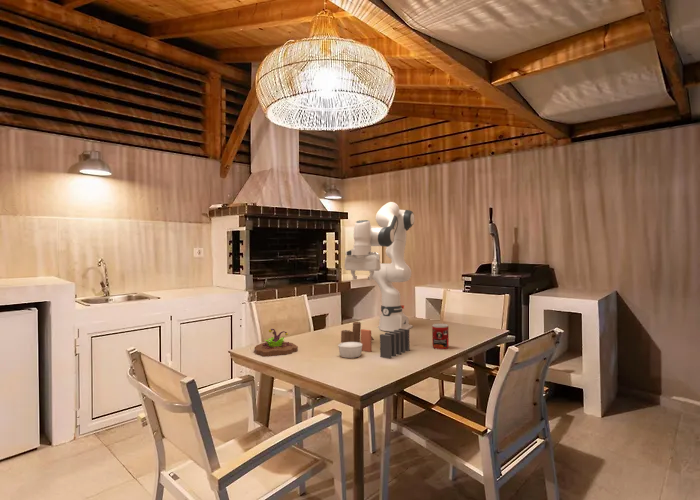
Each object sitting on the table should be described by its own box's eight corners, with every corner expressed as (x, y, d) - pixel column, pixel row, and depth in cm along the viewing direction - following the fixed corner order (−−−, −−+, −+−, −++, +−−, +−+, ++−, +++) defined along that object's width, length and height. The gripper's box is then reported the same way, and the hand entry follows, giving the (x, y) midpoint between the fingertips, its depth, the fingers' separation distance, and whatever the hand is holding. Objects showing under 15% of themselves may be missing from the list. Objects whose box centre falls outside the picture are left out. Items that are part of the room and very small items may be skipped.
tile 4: (387, 354, 190) (386, 332, 190) (396, 355, 186) (396, 333, 186) (385, 355, 188) (384, 333, 188) (394, 356, 185) (394, 334, 185)
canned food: (431, 348, 199) (431, 326, 199) (433, 345, 206) (433, 323, 206) (447, 349, 196) (447, 326, 196) (449, 346, 203) (449, 323, 203)
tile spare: (363, 349, 199) (362, 329, 199) (371, 351, 195) (371, 330, 195) (361, 350, 197) (360, 329, 197) (369, 352, 194) (369, 330, 194)
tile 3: (391, 352, 193) (391, 331, 193) (400, 354, 190) (400, 332, 190) (389, 353, 191) (389, 331, 191) (399, 354, 188) (398, 332, 188)
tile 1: (400, 349, 199) (400, 328, 199) (409, 350, 196) (409, 329, 196) (398, 349, 198) (398, 328, 198) (407, 351, 195) (407, 330, 195)
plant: (249, 349, 204) (249, 327, 204) (286, 344, 214) (286, 323, 214) (262, 358, 187) (261, 334, 187) (302, 352, 197) (301, 329, 197)
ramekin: (339, 352, 194) (338, 341, 194) (362, 352, 194) (362, 341, 194) (337, 359, 183) (337, 347, 183) (362, 358, 183) (362, 347, 183)
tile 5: (382, 356, 186) (381, 334, 186) (391, 357, 183) (391, 335, 183) (380, 356, 185) (379, 334, 185) (389, 358, 182) (389, 335, 182)
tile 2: (396, 350, 196) (395, 329, 196) (405, 352, 193) (405, 330, 193) (394, 351, 195) (394, 330, 195) (403, 352, 192) (403, 331, 192)
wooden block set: (346, 348, 203) (347, 327, 202) (336, 343, 210) (337, 323, 209) (374, 343, 214) (375, 323, 213) (363, 339, 221) (364, 320, 220)
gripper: (383, 252, 203) (383, 280, 202) (350, 252, 215) (350, 279, 215) (375, 251, 198) (375, 280, 197) (342, 252, 210) (342, 279, 210)
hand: (362, 279), depth 206 cm, fingers open, 8 cm apart
